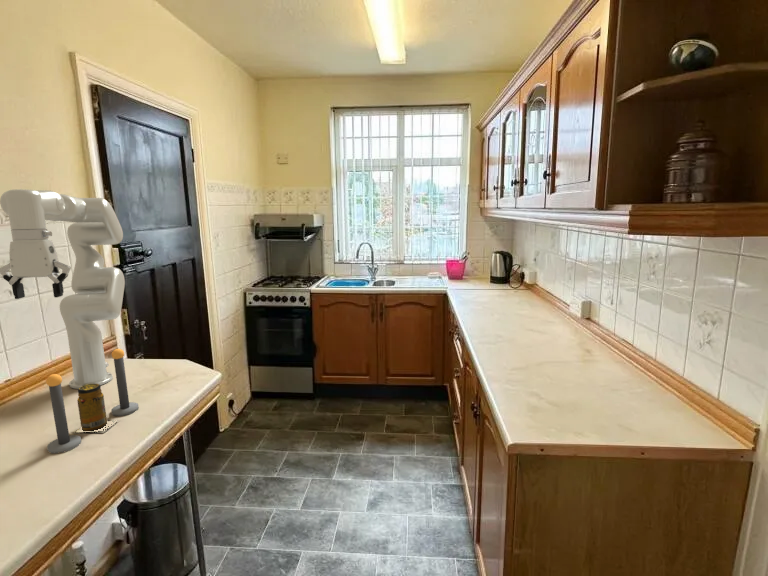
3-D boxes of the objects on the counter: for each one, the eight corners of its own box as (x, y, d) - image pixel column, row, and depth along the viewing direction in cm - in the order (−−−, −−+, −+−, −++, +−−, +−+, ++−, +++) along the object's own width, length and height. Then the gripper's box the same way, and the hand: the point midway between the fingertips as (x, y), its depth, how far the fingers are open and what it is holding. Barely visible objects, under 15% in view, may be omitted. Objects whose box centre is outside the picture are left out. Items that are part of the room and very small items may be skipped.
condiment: (91, 420, 124) (85, 381, 122) (120, 420, 124) (115, 381, 122) (73, 433, 117) (66, 392, 115) (104, 433, 117) (98, 392, 114)
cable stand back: (117, 406, 133) (109, 346, 129) (141, 404, 134) (134, 344, 130) (107, 417, 126) (98, 353, 122) (133, 414, 127) (125, 352, 123)
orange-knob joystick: (56, 440, 114) (45, 370, 110) (86, 437, 115) (75, 368, 111) (41, 454, 107) (28, 381, 103) (73, 451, 108) (61, 378, 104)
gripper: (72, 234, 122) (80, 293, 125) (3, 235, 119) (13, 296, 122) (57, 236, 115) (66, 298, 118) (-17, 237, 112) (-6, 301, 115)
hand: (39, 297), depth 120 cm, fingers open, 9 cm apart
